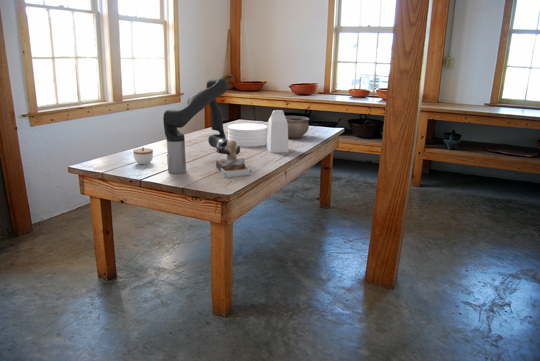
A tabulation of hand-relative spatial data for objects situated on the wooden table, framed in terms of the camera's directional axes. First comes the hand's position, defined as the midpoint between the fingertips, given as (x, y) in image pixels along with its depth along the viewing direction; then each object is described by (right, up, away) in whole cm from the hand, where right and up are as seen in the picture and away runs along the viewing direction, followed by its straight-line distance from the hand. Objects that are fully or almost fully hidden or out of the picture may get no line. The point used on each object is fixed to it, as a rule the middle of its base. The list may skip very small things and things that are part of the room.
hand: (233, 153), depth 228 cm
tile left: (-2, -10, -4) cm, 10 cm away
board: (-2, -9, +8) cm, 12 cm away
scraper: (-1, -5, +5) cm, 7 cm away
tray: (+1, -11, 0) cm, 11 cm away
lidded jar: (-53, -5, +19) cm, 56 cm away
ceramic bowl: (+38, +18, +96) cm, 105 cm away
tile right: (+6, -9, -1) cm, 11 cm away
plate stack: (+4, +12, +78) cm, 79 cm away
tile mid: (+2, -9, -2) cm, 10 cm away
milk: (+24, +5, +54) cm, 60 cm away
